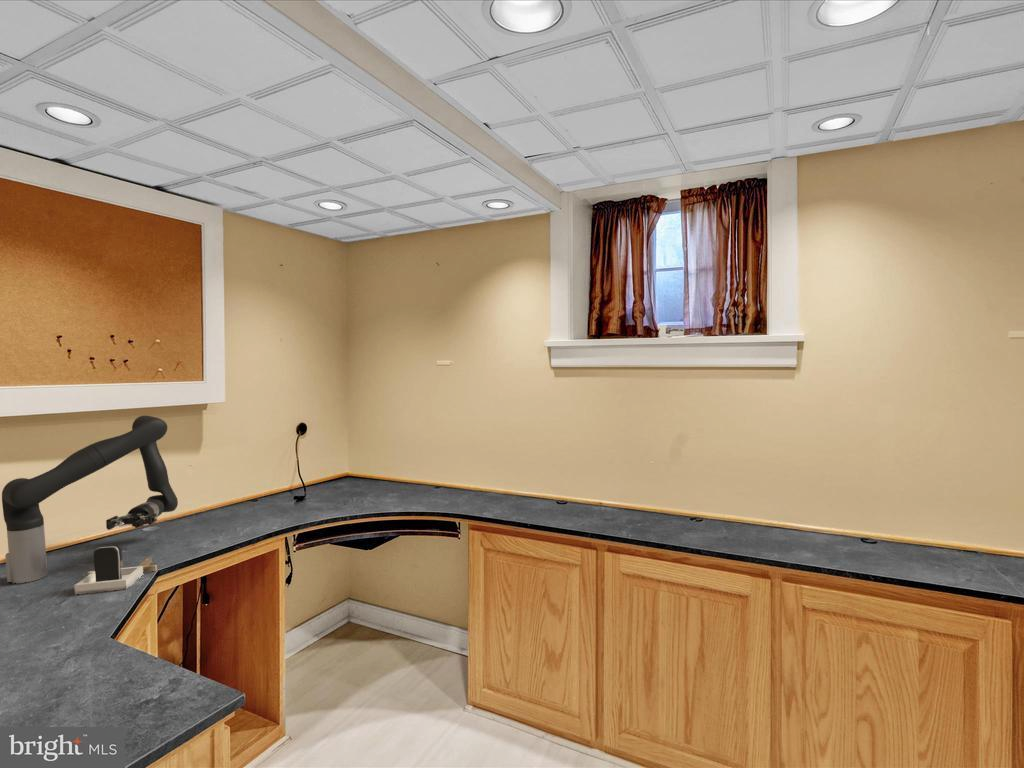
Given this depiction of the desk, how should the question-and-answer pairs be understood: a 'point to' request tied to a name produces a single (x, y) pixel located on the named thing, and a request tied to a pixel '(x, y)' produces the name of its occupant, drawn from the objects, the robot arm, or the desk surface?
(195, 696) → the desk surface
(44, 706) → the desk surface
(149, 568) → the dock
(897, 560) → the desk surface
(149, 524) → the robot arm
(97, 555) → the battery charger
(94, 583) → the tray
